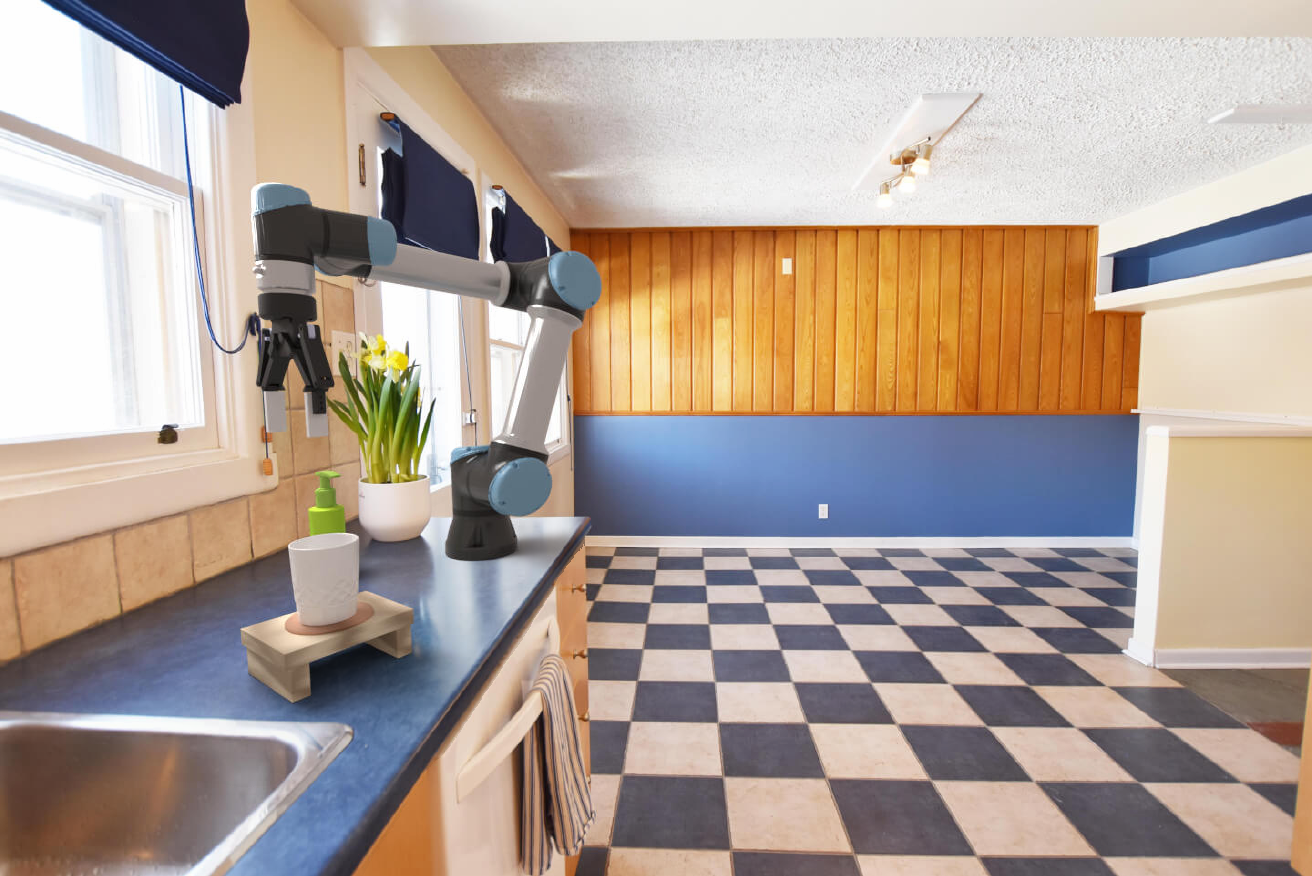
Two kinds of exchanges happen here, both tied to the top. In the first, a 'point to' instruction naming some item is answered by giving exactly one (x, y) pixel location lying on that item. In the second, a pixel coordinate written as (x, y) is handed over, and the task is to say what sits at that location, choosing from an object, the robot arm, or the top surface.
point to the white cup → (325, 577)
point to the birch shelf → (322, 642)
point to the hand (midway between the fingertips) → (296, 434)
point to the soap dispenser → (326, 508)
